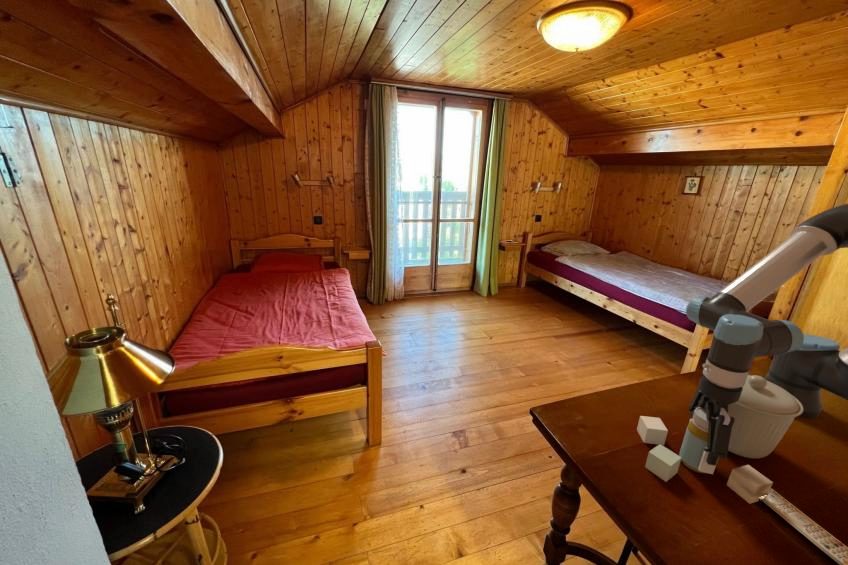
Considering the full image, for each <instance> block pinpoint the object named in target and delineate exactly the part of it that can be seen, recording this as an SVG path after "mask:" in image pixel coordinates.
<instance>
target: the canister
mask: <svg viewBox="0 0 848 565" xmlns="http://www.w3.org/2000/svg"><path fill="white" fill-rule="evenodd" d="M802 413H803V406H802V404H801V403H800V402H799V400H798V399H796V398H795V397H794V396H793V395H791V394H790V393H789V392H787V391H786V390H784V389H783V388H781V387H779V386H778V385H776V384H773V383H771V382H769V381H766V380H765V379H764V377H763V376H760V375H754V374H753V375H751V374H748V376H747V379H746V382H745V385H744V386H743V390H742V393H741V396H740V398H739V401H737V402H735V403H732V404H729V405H728V413H727V414H728V416H730V417H734V423H733V426H732V429H731V435H730V441H729V447H728V452H731V453H732V454H734V455H736V456H740V457H744V458H748V459H754V460H755V459H762V458H766V457H768V456H769V455H770V454H772V452H773V451H774V450H775V448H776V447H777V445H779V443H780V441H781V440H782V439H783V437H784V436H785V434H786V433H787V431H788V429H789V428H790V426H791V425H792V423H793V421H794V420H795V419H796V418H798V417H797V416H799V415H801V414H802Z"/></svg>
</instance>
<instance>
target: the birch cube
mask: <svg viewBox="0 0 848 565" xmlns="http://www.w3.org/2000/svg"><path fill="white" fill-rule="evenodd" d="M773 484H774V482H773V481H772V480H770V479H769V478H768V477H766V476H765V475H763V473H760V472H759V471H758V470H756V469H755V468H754V467H752V466H751V465H750V464H746V465H742V466H738V467H734V468H732V470H731V471H730V475H729V477H728V480H727V482H726V486H727V487H728V488H729V489H730V490H732V491H733V492H735V493H736V495H738V496H739V497H741V498H742V499H743V500H745V501H746V503H748V504H753V503H757V502H760V501H759V497H761V496H764V495H767V496H768V495H769V492H770V491H771V487H772V486H773Z"/></svg>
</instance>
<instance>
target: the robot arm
mask: <svg viewBox="0 0 848 565" xmlns="http://www.w3.org/2000/svg"><path fill="white" fill-rule="evenodd" d="M844 248H845V249H848V203H847V202H846V203H844V204H841V205H837V206H835V207H834V206H833V207H831V208H829V209H826V210H823V211H821V212H820V213H819V212H818V213H817V214H814V215H813V216H811V217H809V218H807V219H806V220H804V221H802V222H801V223H799V224H798V225H797V226H796V227H795V228H793V229H792V230H791V231H790V233H789V237H788V238H787V239H785V240H784V241H783V242H782V243H781V244H779V245H778V246H777V247H776V248H774V249H773V250H771V251H770V252H769V253H768V254H766V255H765V256H764V257H762V258H761V259H759V260H758V261H757V262H756V263H755V264H753V265H752V266H750V267H749V268H748V269H746V270H745V271H744V272H743V273H742V274H740V275H739V276H738V277H737V278H735V279H733V281H731V282H730V283H728V284H727V285H726V286H725V287H723V288H722V289H721V290H719V291H718V292H717V293H715V294H714V295H713V296H711V297H710V296H704V295H699V296H695V297H693V298H692V299H691V300H690V301H689V302H688V303H687V306H686V308H685V314H686V317H687V319H689V320H690V321H692V322H693V323H695V324H697V325H698V326H700V327H701V328H706V329H708V330H710V331H713V336H712V340H711V343H710V347H709V352H708V354H707V357H706V360H705V363H702V368H703V370H702V374H701V376H700V379H699V383H698V386H697V390H696V392H695V394H694V395H693V397H692V400H691V402H690V404H689V405H688V412H690V413H689V417H690V419H689V422H690V421H691V420H692V418H693V414H694V411H695V409H696V408H698V407H701V408H705V410H706V411H707V415H706V419H707V420H708V421H709V428H708V448H704V452H703V455H702V458H701V461H700V464H699V467H698V470H699V471H701V472H705V473H704V474H710V475H714V472H715V469H716V467H717V464H718V461H719V458H721V459H728V452H729V451H728V447H729V441H730V435H731V429H732V426H733V423H734V417H730V416H728V414H727V413H728V405H729V404H732V403H735V402H737V401H739V398H740V396H741V393H742V390H743V386H744V385H745V382H746V379H747V376H748V375H749V374H750V369H751V366H752V364H753V361H754V359H755V358H762V357H767V356H773V359H772V361H771V364H770V367H769V370H768V372H767V374H766V375H765V376H764V377H763V378H764V379H765V380H766V381H769V382H771V383H773V384H776V385H778V386H779V387H781V388H783V389H784V390H786V391H787V392H789V393H790V394H791V395H793V396H794V397H795V398H796V399H798V400H799V402H800V403H801V404H802V406H803V413H802V414H801V415H799V416H797V417H796V418H800V419H816V418H819V417H820V414H821V412H822V410H823V408H822V407H823V406H822V401H821V398H822V397H821V390H824V391H827V392H828V393H832V394H833V395H835V396H837V397H839V398H842V399H844V400H846V401H848V347H847V348H843V349H842V350H840V349H841V346H840V343H838V342H837V341H836V340H833V339H830V338H828V337H822V336H821V335H820V336H819V335H813V334H807V333H804V332H803V331H802V329H801V328H800V327H799V326H798V325H797V324H795V323H794V322H792V321H790V320H785V319H771V320H770V319H767V318H764V317H762V316H759V315H756V314H755V313H754V314H753V313H751V312H749V311H751V309H752V308H754V307H755V306H757V305H758V304H759V303H761V302H762V301H763V300H765V299H766V298H767V297H768V296H770V295H771V294H772V293H774V292H775V291H777V290H778V289H779V288H780V287H782V286H783V285H784V284H786V283H787V282H788V281H790V280H791V279H792V278H794V277H795V276H796V275H798V274H799V273H800V272H801V271H803V270H804V269H805V268H807V267H808V266H810V265H811V264H813V263H814V262H815V261H816V260H818V259H819V258H820V257H821V256H822V257H823V256H829V255H831V254H833V253H835V252H836V251H838V250H839V249H844ZM711 417H715V418H717V419H713V418H711Z"/></svg>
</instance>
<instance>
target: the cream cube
mask: <svg viewBox="0 0 848 565" xmlns="http://www.w3.org/2000/svg"><path fill="white" fill-rule="evenodd" d="M636 430H637V431H636V432H637V433H638V434H639V436H640V438H641V440H642V442H643V444H650V445H657V446H658V445H659V444H661V445H662V446H665V444H666V443H665V442H666V439H667V435H668V432H669V430H668V429H667V427H666V426H665V424H664V422H663V420H662V419H661V417H654V416H646V415H645V416H644V415H640V416H639V420H638V424H637V427H636Z"/></svg>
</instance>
